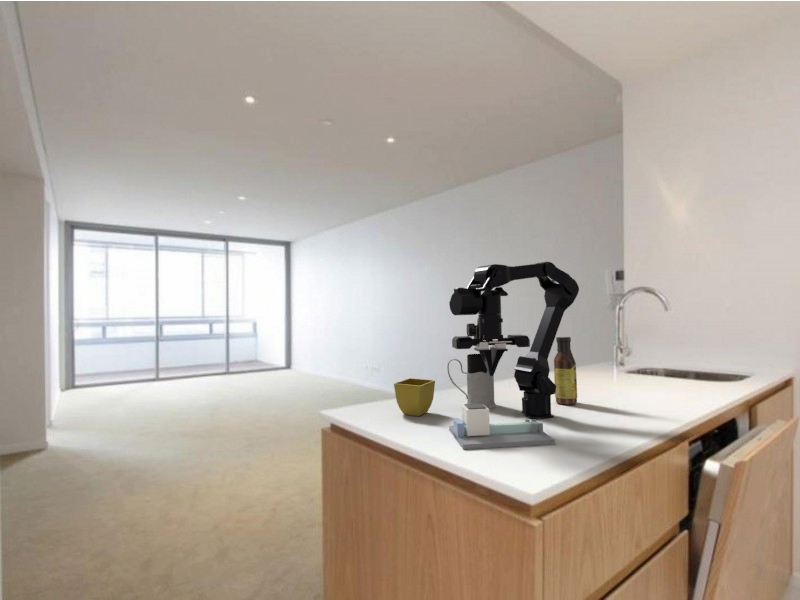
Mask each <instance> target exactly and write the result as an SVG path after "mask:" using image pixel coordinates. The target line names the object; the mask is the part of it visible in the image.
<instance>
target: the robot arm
mask: <svg viewBox="0 0 800 600" xmlns="http://www.w3.org/2000/svg"><path fill="white" fill-rule="evenodd" d="M532 278H537V280H538V282H539V286H540V287H541V289H543V291H544V295H543V297H544V301H545V308H544V311H543V314H542V317H541V319H540V322H539V325H538V326H537V327H538V328H537V330H536V333H535V334H534V335H535V336H534V338H533V341H532V344H530V343H531V339H530V338H529V336H528V335H526V334H507V337H504V334H503V333H502V331H503V330H502V327H503V326H502V323H503V322H504V320H503V318H502V297H508V296H509V293H508V292H507V291H506V290H505V289H504V288H503V287H502V286H505V285H507V284H510V282H512V281H517V280H518V281H519V280H524V279H532ZM468 283H469V284H468V285H467V287H466V288H464V287H454V288H453V293H452V294H451V297H450V299H449V310H450V312H451V314H453V316H473V315H474V316H476V315H477V314H478V316H477V317H478V318H477V323H476V324H475V323H473V322H472V323H467V324H466V335H462V336H459V335H457V336H456V335H455V336H453V338H452V339H451V343H452V346H451V347H452V348H454V349H456V350H470V349H471V348H472V347H474V348H473V349H474V350H473V351H476V352H478V354H481V356H482V358H483V360H484V362H485V365H486V368H487V371H488V374H489V376H493V375H495V373H496V370H497V367H498V365H499V363H500V360H501V359H502V357H503V355H504V353H505V352H508V351H509V349H508V348H506V347H507V346H508V345H510V346H516V347H517V348H530V350H529V352H528V353H527V354H526V355H519V356H518V358H517V363H516V365H515V366H514V367H513V370H514V376H513V377H514V379H515V382H516V383H517V386H518V389H519V391H520V392H523V397H521V409H522V410H521V414H524V416H526V417H528V418H529V419H548V418H550V419H551V418H554V417H555V416H554V414H553V413H552V403H551V402H552V401H551V400H552V397H551V396H552V395H555V391H556V385H555V382H553V381H552V380H551V378H550V377H549V376H550V372H551V371H550V370H551V369H550V365H549V361H548V359H549V355H550V352H551V350H552V348H553V344H554V343H555V342H554V341H555V340H556V337H557V333H558V331H559V328H560V324H561V322H562V318H563V316H564V314H565V312H566V310H567V309H568V308H569V307H571V306H572V305H573V304H574V302H575V301H576V299H577V296H578V294H579V291H580V287H579V285H578V283H577V281H576V280H575V279H574V278H573V277H571V275H570V274H569V273H567V272H566V271H564V270H561V269H560V268H558V267H557V266H556V265H555V263H553V262H551V261H542V262H537V263H531V264H525V265H524V264H522V265H514V266H509V265H505V264H500V263H499V264H498V263H494V264H486V265H481V266H478V267H476V268H475V270H474V273H473V276H472V278H471V280H470V281H469V282H468ZM472 337H473V338H472ZM489 346H490V347H489Z"/></svg>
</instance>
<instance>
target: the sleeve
mask: <svg viewBox="0 0 800 600" xmlns="http://www.w3.org/2000/svg"><path fill="white" fill-rule="evenodd" d="M461 421H462V422H463V423H464V425H465V424H466V435H467V436H479V435H490V426H489V424H490V409H488V408H487V407H486V406H484V405H483V404H481V403H477V404H467V403H464V404H462V405H461Z"/></svg>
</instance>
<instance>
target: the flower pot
mask: <svg viewBox="0 0 800 600" xmlns="http://www.w3.org/2000/svg"><path fill="white" fill-rule="evenodd" d="M435 386H436V380H435V379H425V378H424V379H421V378H414V377H411V378H406V379H404V380H401V381H397V382H394V383H393V388H394V393H395V399H396V403H397V405H398V408H399V410H400V411H401V412H402V413H403V415H409V416H415V417H419V416H422V415H424V414H427V413H428V412H429V409H430V408H431V406H432V403H433V400H434V395H435Z"/></svg>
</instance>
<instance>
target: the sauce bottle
mask: <svg viewBox="0 0 800 600" xmlns="http://www.w3.org/2000/svg"><path fill="white" fill-rule="evenodd" d="M555 340H556V343H557V346H556V347H557V348H556V351H557V352H556V355H555V356H554V359H553V376H554V377H553V379H554V380H553V381H554V382H553V383H554V384H555V385H556V391H555V394H554V398H555V402H556V403H557V404H558V405H566V406H567V405H569V406H570V405H576V404H577V403H578V387H577V386H578V385H577V384H578V383H577V382H578V381H577V380H578V379H577V366H576V365H577V364H576V363H577V362H576V360H575V358H574V355H573V353H572V349H571V341H572V340H571V336H555Z"/></svg>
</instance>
